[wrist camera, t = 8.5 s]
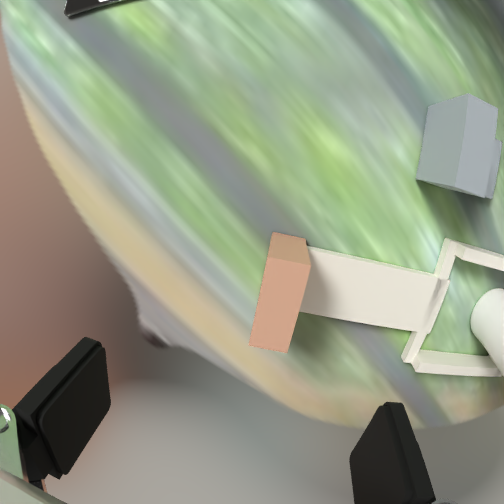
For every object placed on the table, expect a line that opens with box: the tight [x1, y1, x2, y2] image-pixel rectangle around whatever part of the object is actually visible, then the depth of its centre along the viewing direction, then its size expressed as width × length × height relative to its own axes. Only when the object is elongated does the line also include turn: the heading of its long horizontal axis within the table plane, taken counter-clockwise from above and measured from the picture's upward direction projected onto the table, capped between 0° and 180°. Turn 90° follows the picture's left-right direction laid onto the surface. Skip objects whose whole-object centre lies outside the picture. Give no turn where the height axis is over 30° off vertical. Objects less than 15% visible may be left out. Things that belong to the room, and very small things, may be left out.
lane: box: [249, 232, 504, 377], centre depth 22 cm, size 11×26×6 cm, turn 79°
